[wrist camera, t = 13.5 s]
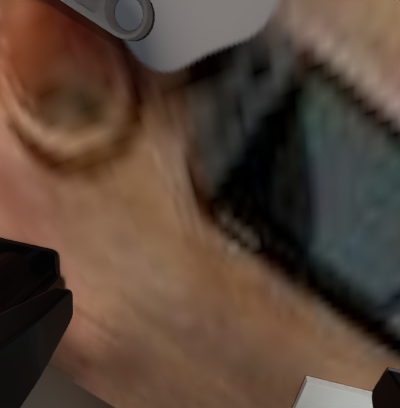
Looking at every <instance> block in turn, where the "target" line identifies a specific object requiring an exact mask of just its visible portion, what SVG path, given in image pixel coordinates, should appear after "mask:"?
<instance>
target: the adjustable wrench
mask: <svg viewBox="0 0 400 408" xmlns="http://www.w3.org/2000/svg"><path fill="white" fill-rule="evenodd" d="M61 1H62V2H64V3H65V4H67V5H68V6H70V7H71V8H73V9H74V10H76V11H78V12H79V13H81V14H82V15H84V16H85V17H87V18H88V19H90V20H91V21H93V22H94V23H96V24H97V25H99V26H101V27H102V28H104V29H105V30H107V31H108V32H110V33H111V34H113V35H114V36H116V37H119V38H121V39H125V40H128V41H140V40H142V39H144V38H146V37H147V36H148V35H149V34H150V32H151V31H152V29H153V26H154V22H155V12H154V8H153V5H152V3H151V1H150V0H138V1H139V3H140V5H141V7H142V10H143V19H142V23H141V24H140V26H139V27H138V28H137V29H135V30H133V31H127V30H124V29H122V28H121V27H120V26H119V25H118V23H117V22H116V19H115V7H116V4H117V2H118V0H61Z"/></svg>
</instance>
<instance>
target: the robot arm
mask: <svg viewBox="0 0 400 408" xmlns="http://www.w3.org/2000/svg"><path fill="white" fill-rule="evenodd" d="M50 255H51V256H52V257H51V256H50ZM72 315H73V295H72V291H71V290H69V289H65V288H61V287H60V277H59V267H58V254H57V252H56V251H54V250H53V249H49V248H44V247H40V246H35V245H31V244H26V243H22V242H17V241H13V240H8V239H4V238H0V408H20V407H21V405H22V404H23V402H24V401H25V399H26V398H27V396H28V395H29V393H30V392H31V390H32V389H33V387H34V386H35V384H36V383H37V381H38V380H39V378H40V377H41V375H42V373H43V371H44V369H45V368H46V366H47V364H48V362H49V360H50V358H51V357H52V355H53V353H54V351H55V349H56V347H57V345H58V344H59V342H60V340H61V338H62V336H63V334H64V332H65V331H66V329H67V327H68V325H69V323H70V321H71V319H72ZM372 405H373V408H400V373H398V372H394V371H390V370H387V371H385V372H384V373H383V375H382V376H381V378H380V380H379V381H378V383H377V384H376V386H375V388H374V389H373V392H372Z"/></svg>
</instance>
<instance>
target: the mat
mask: <svg viewBox="0 0 400 408" xmlns="http://www.w3.org/2000/svg"><path fill="white" fill-rule="evenodd" d="M292 408H373V405H372V392H371V391H367V390H363V389H359V388H355V387H351V386H346V385H342V384H338V383H334V382H330V381H326V380H322V379H318V378H313V377H309V376H306V377H305V379H304V382H303V384H302V386H301V389H300V391H299V393H298V396H297V398H296V400H295V403H294V405H293V407H292Z"/></svg>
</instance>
